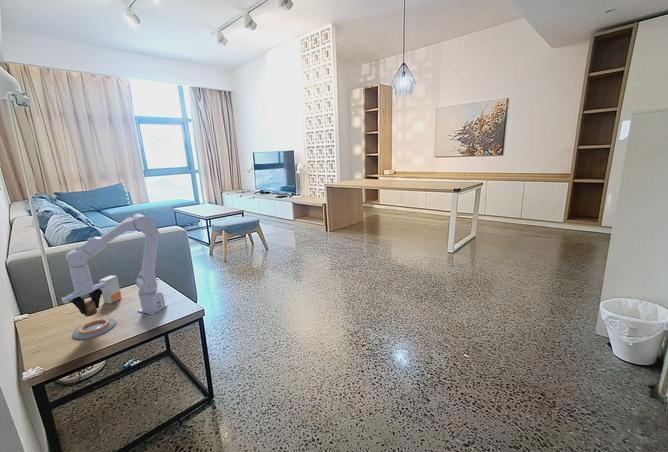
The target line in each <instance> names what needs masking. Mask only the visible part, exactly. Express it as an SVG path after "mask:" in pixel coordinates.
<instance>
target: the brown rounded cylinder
mask: <svg viewBox="0 0 668 452" xmlns="http://www.w3.org/2000/svg"><path fill="white" fill-rule="evenodd" d="M85 309H86V314H83V315H84V317H91V316H94V315H96V314H97V313H98V308H96V305H95V301H94V300H91V299H89V300H86V301H85Z"/></svg>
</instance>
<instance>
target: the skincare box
mask: <svg viewBox="0 0 668 452" xmlns="http://www.w3.org/2000/svg"><path fill="white" fill-rule="evenodd" d="M102 282H105V283H106V285H107V287H105V288H101V289H100V290H102V295H101V296H102V301H103V303H104V304H112V303H114V302H117V301H118V300H120V299H122V294H121V289H120V283H119V279H118V275H111V274H110V275H108V276H105V277H103V278H102V279H99V280H98V284H99V283H102Z"/></svg>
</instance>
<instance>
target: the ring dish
mask: <svg viewBox="0 0 668 452" xmlns="http://www.w3.org/2000/svg"><path fill="white" fill-rule="evenodd" d="M115 326H117V320H116V319H115V318H111V317H103V318H96V319H92V320H91V321H88V322H85V323H83V324H82V325H80V326H79V327H77V328H75V330H74V331H73V332H72V334H71V336H72V338H73V339H75V340H79V341H80V340H89V339H92V338H96V337H99V336H101V335H103V334H105V333H108V332H109V331H111V330H112V329H114V328H115Z"/></svg>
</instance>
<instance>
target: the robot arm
mask: <svg viewBox="0 0 668 452" xmlns="http://www.w3.org/2000/svg"><path fill="white" fill-rule="evenodd" d="M136 229H137V230H139V231H140V232H141V233H142V234H143V235H144V236H145V240H144V241H145V242H144V248H143V255H142V262H141V270H140V271H139V273H138V275H137V278H136V280H135V285H136V286H137V288H139V290H138V291H137V292H138V297H139V302H140V307H141V308H139V309H137V312H139V313H144V314H147V315H154V314H156V313H157V312H160V311H162V310H163V309H165V308H166V307H168V305H167V304H166V303H165V302H166V301H165V296H164V294H163V293H162V292H160V291H159V290H158V283H157V275H156V262H157V256H158V248H159V242H160V241H159V240H160V231H159V229H158V227H157V225H156V223H155V221H154V220H153V219H152V218H150V217H149V216H146V215H144V214H142V213H134V214H132V215H131V216H129V217H127V218H125V219H124V220H122V221H121V222H120V223H118V224H117V225H115V226H113V227H112V228H111V229H110V230H108V231H106V232H105V233H104V234H102V235H101V236H94V237H89V238H87V241H86V242H85V243H82V244H81V245H79V246H76V247H75V248H74V249H72V250H70V251H68V252H67V253H66V255H65V258H64V260H65V261H66V263H67V264H68V270H69V274H70V278H71V281H72V285H73V289H74V291H73V292H71V293H70V294H68V295H66V296H63V297H61V302H62V303H63V304H68V303H71V304H73V305H74V307H76V308H77V309H78V311H79V312H80V314H81V315H84V314H86V309H85V302H86V301H85V299H84V298H83V297H84V296H86V295H89V297H90V300H94V301H95V305H96V309H99V308H100V300H101V298H102V297H101V296H102V290H101V288H105V287H107V285H106V283H105V282H102V283H99V282H98V283H96V284H94V282H93V279H92V275H91V271H90V267H89V266H88V260H89V259H91V258H93V257H94V256H96V255H97V254H99V253H100V252H101V251H103V250H105V249H106V248H107V246H108V245H107V244H108V243H109V242H111V241H113V240H115V238H118V237H119V236H121V235H123V234H124V233H125V232H135V231H137V230H136Z"/></svg>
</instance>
